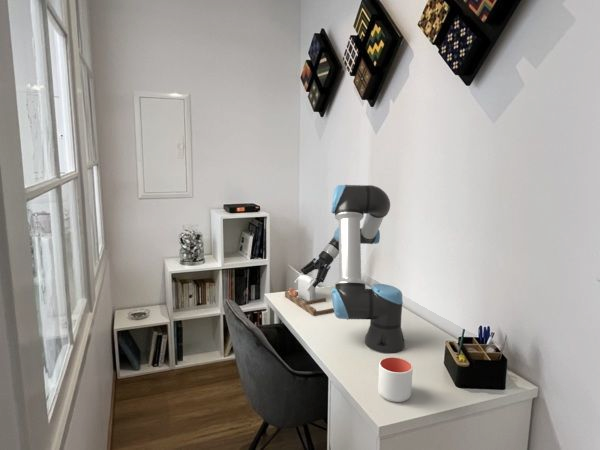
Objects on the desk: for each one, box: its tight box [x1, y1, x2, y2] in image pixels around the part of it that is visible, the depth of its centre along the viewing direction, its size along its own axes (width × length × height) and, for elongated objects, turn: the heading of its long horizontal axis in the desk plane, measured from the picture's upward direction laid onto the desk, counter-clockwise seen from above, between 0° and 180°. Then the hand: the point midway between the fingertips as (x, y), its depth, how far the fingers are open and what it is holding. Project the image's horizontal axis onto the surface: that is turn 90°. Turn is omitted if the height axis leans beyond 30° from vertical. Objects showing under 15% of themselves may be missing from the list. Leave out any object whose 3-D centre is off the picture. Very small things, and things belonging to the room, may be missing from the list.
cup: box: [377, 356, 413, 403], centre depth 132 cm, size 10×10×10 cm
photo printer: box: [297, 274, 316, 301], centre depth 217 cm, size 10×4×12 cm, turn 40°
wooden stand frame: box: [284, 287, 334, 317], centre depth 211 cm, size 29×15×6 cm, turn 29°
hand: (302, 287), depth 216 cm, fingers open, 12 cm apart
